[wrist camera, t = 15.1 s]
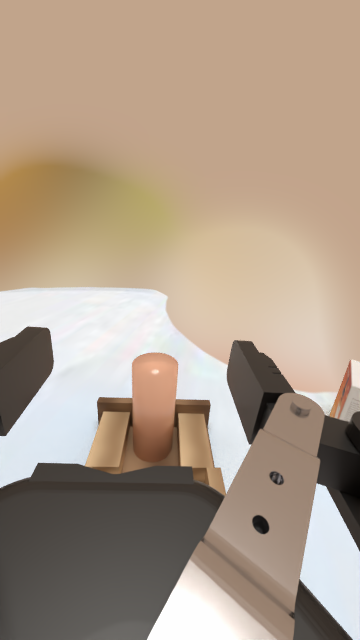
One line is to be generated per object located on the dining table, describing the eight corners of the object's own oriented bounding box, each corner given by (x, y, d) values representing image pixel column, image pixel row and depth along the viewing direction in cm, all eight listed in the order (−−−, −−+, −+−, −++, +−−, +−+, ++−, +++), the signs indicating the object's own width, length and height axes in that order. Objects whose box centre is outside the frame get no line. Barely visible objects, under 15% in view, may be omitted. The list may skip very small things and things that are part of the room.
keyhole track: (39, 606, 19) (30, 572, 17) (100, 423, 35) (99, 397, 34) (237, 601, 20) (247, 568, 18) (205, 425, 36) (209, 400, 35)
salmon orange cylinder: (130, 462, 29) (129, 377, 25) (135, 428, 34) (135, 352, 29) (172, 462, 30) (179, 378, 25) (172, 429, 34) (177, 353, 30)
